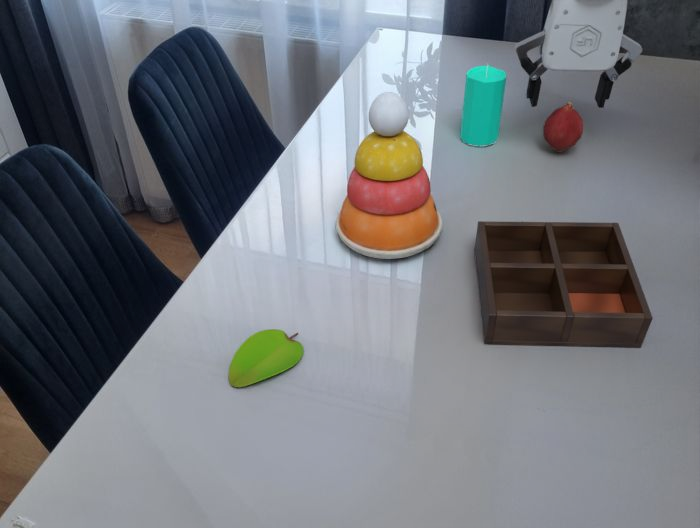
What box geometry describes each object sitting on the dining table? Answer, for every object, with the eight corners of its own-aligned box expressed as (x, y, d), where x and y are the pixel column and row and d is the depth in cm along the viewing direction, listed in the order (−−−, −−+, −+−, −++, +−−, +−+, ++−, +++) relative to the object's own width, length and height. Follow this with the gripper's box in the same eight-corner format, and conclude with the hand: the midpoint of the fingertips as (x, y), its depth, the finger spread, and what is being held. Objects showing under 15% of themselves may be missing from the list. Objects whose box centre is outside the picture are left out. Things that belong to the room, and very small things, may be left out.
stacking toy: (455, 257, 89) (470, 116, 74) (348, 274, 87) (342, 133, 73) (424, 197, 98) (432, 63, 84) (327, 211, 96) (319, 76, 82)
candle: (483, 151, 107) (493, 76, 98) (452, 139, 110) (459, 64, 101) (505, 136, 110) (516, 62, 101) (474, 125, 113) (482, 51, 104)
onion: (533, 154, 106) (542, 105, 100) (548, 138, 109) (557, 89, 103) (569, 164, 103) (580, 115, 98) (583, 148, 107) (595, 99, 101)
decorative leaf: (311, 377, 75) (311, 371, 75) (231, 391, 74) (230, 386, 73) (296, 327, 80) (296, 321, 79) (221, 340, 78) (220, 334, 78)
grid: (609, 251, 88) (618, 222, 85) (641, 347, 76) (652, 318, 73) (474, 250, 90) (478, 221, 86) (484, 344, 78) (489, 315, 74)
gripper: (530, -13, 86) (509, 114, 99) (669, -12, 85) (630, 116, 98) (523, -33, 91) (504, 90, 104) (655, -32, 90) (619, 92, 103)
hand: (565, 103), depth 101 cm, fingers open, 9 cm apart
